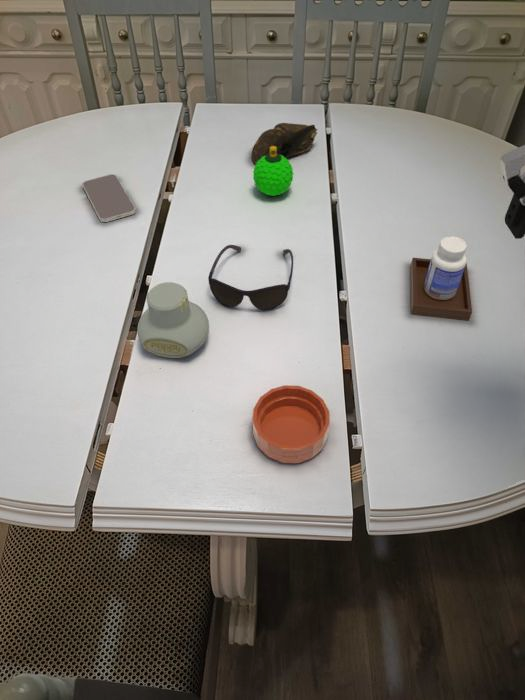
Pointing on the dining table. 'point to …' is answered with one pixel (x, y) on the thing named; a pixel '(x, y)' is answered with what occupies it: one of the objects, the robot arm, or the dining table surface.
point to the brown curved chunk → (284, 140)
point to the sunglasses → (259, 298)
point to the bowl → (290, 424)
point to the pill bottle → (446, 269)
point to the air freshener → (172, 322)
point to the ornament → (273, 173)
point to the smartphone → (108, 198)
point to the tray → (432, 307)
